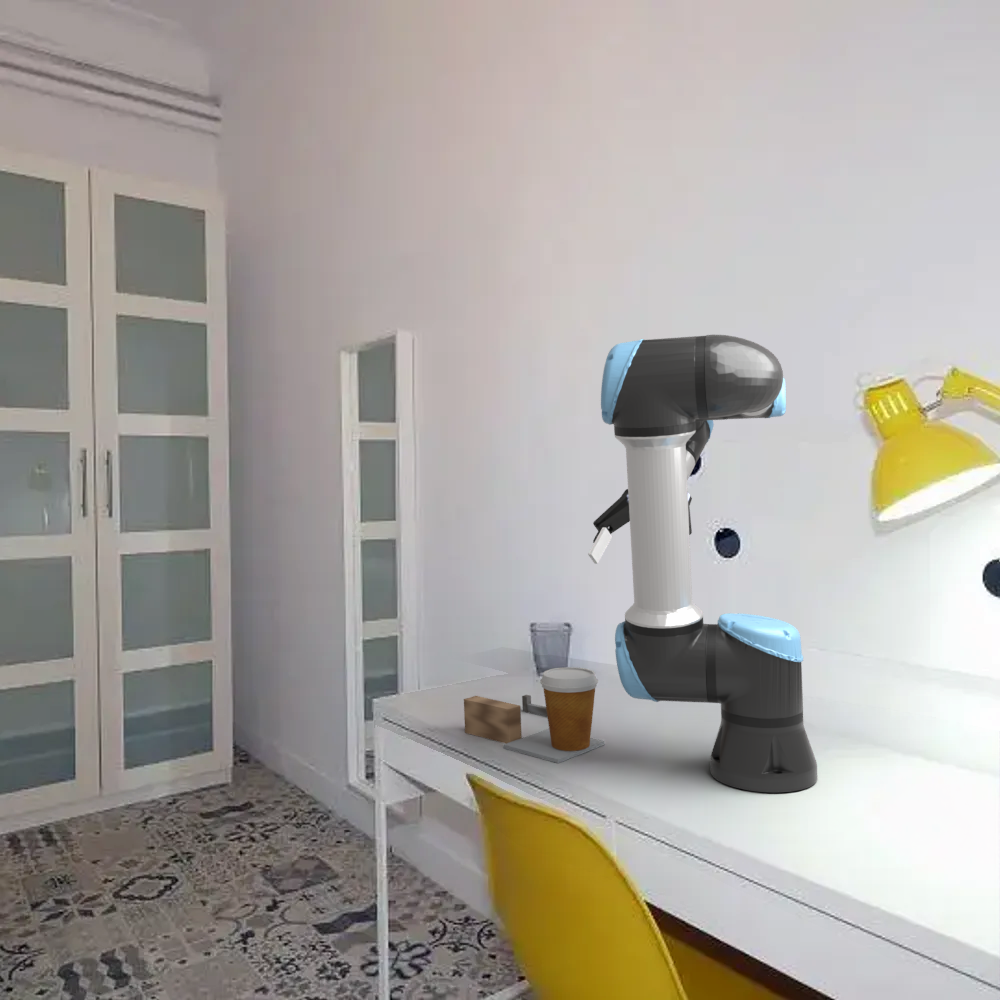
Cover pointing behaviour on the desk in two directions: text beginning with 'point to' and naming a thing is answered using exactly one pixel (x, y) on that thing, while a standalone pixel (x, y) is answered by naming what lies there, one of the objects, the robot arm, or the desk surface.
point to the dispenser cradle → (497, 717)
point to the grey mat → (546, 747)
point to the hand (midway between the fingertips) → (623, 560)
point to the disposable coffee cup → (569, 706)
